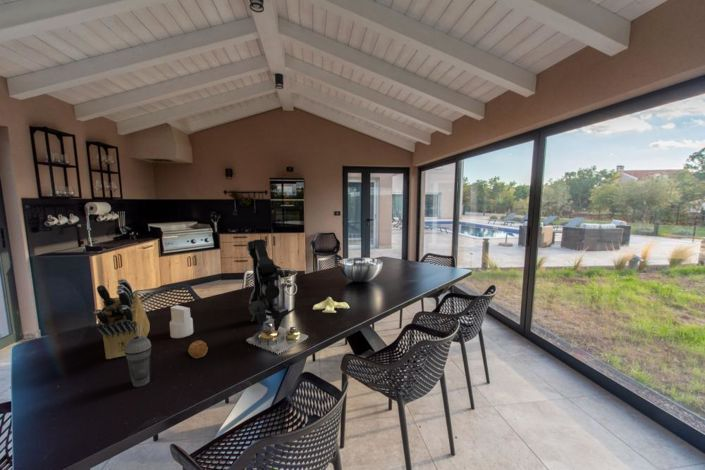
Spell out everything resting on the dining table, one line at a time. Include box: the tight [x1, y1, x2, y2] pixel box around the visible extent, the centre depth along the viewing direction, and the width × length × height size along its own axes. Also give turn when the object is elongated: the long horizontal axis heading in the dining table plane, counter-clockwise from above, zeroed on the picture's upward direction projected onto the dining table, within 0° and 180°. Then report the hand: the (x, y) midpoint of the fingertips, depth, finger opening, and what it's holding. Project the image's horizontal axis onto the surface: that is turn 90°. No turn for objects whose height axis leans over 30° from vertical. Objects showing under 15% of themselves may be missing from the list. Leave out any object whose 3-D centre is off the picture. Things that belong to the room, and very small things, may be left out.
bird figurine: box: [312, 296, 350, 314], centre depth 173 cm, size 22×19×6 cm
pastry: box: [187, 340, 209, 359], centre depth 120 cm, size 9×7×4 cm
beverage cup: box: [125, 324, 153, 388], centre depth 100 cm, size 7×7×20 cm
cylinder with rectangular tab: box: [169, 304, 194, 339], centre depth 138 cm, size 9×9×12 cm
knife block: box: [93, 278, 151, 360], centre depth 123 cm, size 11×35×31 cm, turn 26°
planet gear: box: [260, 322, 277, 340], centre depth 131 cm, size 7×7×6 cm
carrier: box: [246, 325, 309, 355], centre depth 131 cm, size 19×17×5 cm
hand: (268, 328), depth 131 cm, fingers open, 9 cm apart
